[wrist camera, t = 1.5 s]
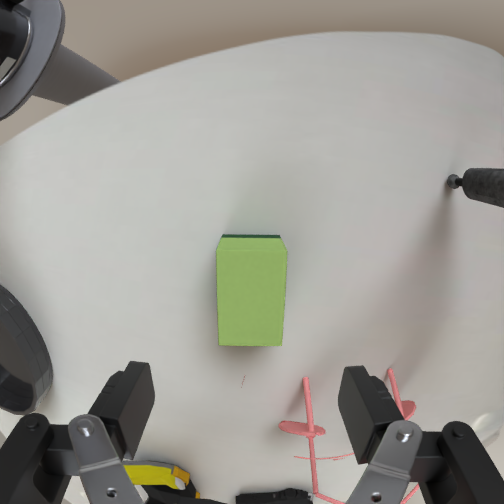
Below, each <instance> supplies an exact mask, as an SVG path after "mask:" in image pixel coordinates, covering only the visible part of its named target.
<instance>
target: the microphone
mask: <svg viewBox="0 0 504 504" xmlns="http://www.w3.org/2000/svg"><path fill="white" fill-rule="evenodd" d="M447 182H448V185H449V186H450V187H451V188H453V189H456V188H458V187H459V186H462V187H463V191H464V193H465V195H466V196H467V197H468V198H470V199H473V200H477V201H481V202H484V203H488V204H492V205H495V206H499V207H503V208H504V169H492V168H470V169H468V170H467V171H466V172H465V173H464V176H463V178H459V177H458V176H457V175H455V174H452V175H450V176H449V177H448V180H447Z"/></svg>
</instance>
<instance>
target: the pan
mask: <svg viewBox="0 0 504 504" xmlns="http://www.w3.org/2000/svg"><path fill="white" fill-rule="evenodd" d="M52 377H53V376H52V366H51V361H50V357H49V354H48V351H47V348H46V345H45V343H44V341H43V339H42V336H41V335H40V333H39V331H38V329H37V327H36V325H35V324H34V322H33V320H32V319H31V317H30V316H29V314H28V313H27V312H26V310H25V309H24V308H23V306H22V305H21V304H20V303H19V302H18V300H17V299H16V298H15V297H14V296H13V295H12V294H11V293H10V292H9V291H8V290H6V289H5V288H4V287H3V286H1V285H0V408H1V409H3V410H6V411H8V412H10V413H13V414H16V415H27V414H30V413H31V412H33V411H34V410H35V409H36V408H37V407H38V405H39V404H40V403H41V401H42V400H43V399H44V397H45V396H46V394H47V392H48V391H49V389H50V387H51V384H52Z"/></svg>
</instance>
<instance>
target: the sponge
mask: <svg viewBox="0 0 504 504" xmlns="http://www.w3.org/2000/svg"><path fill="white" fill-rule="evenodd" d="M286 270H287V249H286V247H285V245H284V243H283V241H282V239H281V237H280V235H224V234H223V235H222V238H221V240H220V242H219V245H218V247H217V250H216V272H217V313H218V342H219V345H224V346H282V337H283V322H284V306H285V289H286Z"/></svg>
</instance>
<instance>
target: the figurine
mask: <svg viewBox="0 0 504 504" xmlns="http://www.w3.org/2000/svg"><path fill="white" fill-rule="evenodd" d="M387 371H388V374H389V378H390V382H391V386H392V390H393V394H394V398H395V403H396V405H397V407H398V408H399V410H400V412H401V414H402V415H403V417H404V419H405V420H408V419H409V418H410V417H411V416H412V415H413V414H414V412H415V409H416V405H415V403H414V402H413V401H409V400H408V401H401V400H400V396H399V392H398V388H397V384H396V381H395V377H394V373H393V370H392V368H390V369H388V370H387ZM244 377H245V376H244ZM243 381H244V380H243ZM242 384H243V383H242ZM303 385H304V394H305V403H306V413H307V422H308V424H307V423H300V422H292V421H282V423H280V424H279V428H280V429H281V430H283V431H286V432H289V433H293V434H298V435H304V436H306V437H307V438H309V448H310V458H304V459H311V470H312V482H313V494H316V497H318V498H321V499H323V500H326V501H328V502H331V503H333V504H345V503H343V502H340V501H337V500H335V499H332V498H330V497H327V496H325V495H322V494H320V493H318V484H317V473H316V463H315V459H330V458H315V454H314V444H313V438H314V437H315V436H316V435H319V436H320V435H323V434H325V430H324V429H323V428H322V427H319V426H317V425H314V422H313V413H312V404H311V396H310V388H309V380H308V378H307V377H305V378H303ZM241 388H242V387H241ZM352 454H354V453H352ZM348 455H351V454H348ZM348 455H344V456H348ZM294 457H297V456H294ZM339 457H343V456H339ZM298 458H303V457H298ZM332 458H338V457H332ZM341 459H343V458H341ZM333 460H338V459H333ZM418 488H419V484H417V485H416V486H415V488H414V489H413V490H412V491H411V492H410V493H409V494H408V495H407V496H406V497H405V498H404V500H403V501H401V503H400V504H405V503H406V502H407V501H408V500H409V499H410V497H411V496H412V495H413V494H414V493H415V492H416V491H417V490H418Z"/></svg>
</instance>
